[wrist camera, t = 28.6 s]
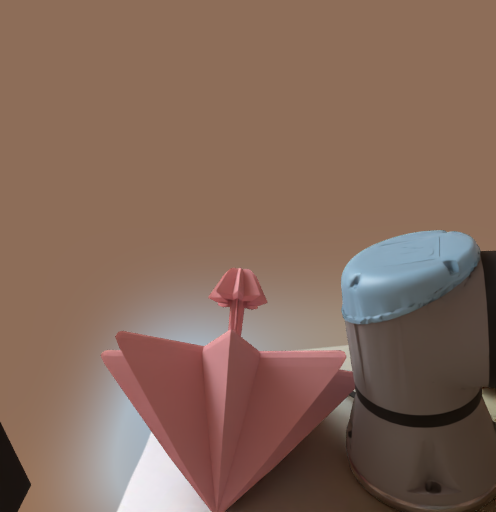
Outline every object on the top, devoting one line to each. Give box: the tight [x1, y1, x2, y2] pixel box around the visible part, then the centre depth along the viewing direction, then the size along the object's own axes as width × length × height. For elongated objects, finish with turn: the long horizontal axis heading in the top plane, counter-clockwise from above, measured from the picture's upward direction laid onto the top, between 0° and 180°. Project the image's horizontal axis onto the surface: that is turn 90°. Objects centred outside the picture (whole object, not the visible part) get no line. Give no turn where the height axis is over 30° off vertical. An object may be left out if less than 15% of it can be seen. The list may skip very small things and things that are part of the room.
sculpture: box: [101, 268, 355, 512], centre depth 48 cm, size 28×20×21 cm
